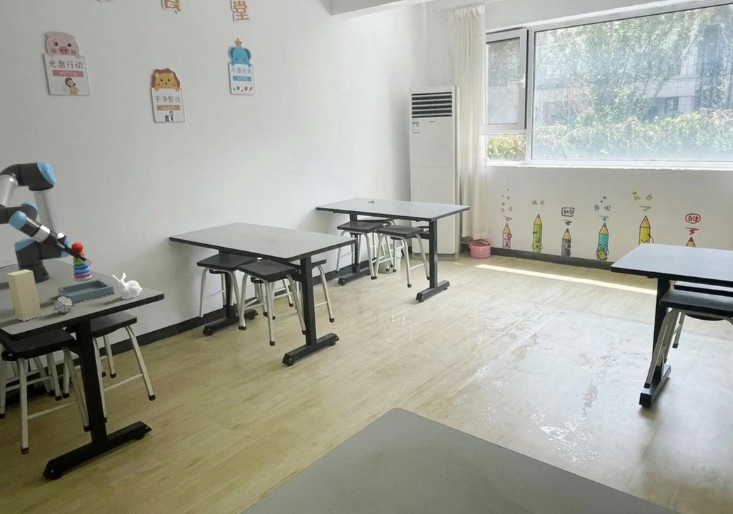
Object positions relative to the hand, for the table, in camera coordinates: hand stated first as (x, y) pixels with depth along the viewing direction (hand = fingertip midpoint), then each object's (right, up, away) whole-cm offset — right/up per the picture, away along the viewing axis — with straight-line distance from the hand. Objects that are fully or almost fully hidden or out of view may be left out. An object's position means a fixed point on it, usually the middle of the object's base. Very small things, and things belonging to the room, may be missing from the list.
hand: (88, 262), depth 268 cm
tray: (-2, -16, +2) cm, 16 cm away
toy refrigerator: (-13, -24, -27) cm, 38 cm away
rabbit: (+22, -17, -5) cm, 28 cm away
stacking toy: (-2, -9, 0) cm, 9 cm away
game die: (+1, -23, -23) cm, 32 cm away
